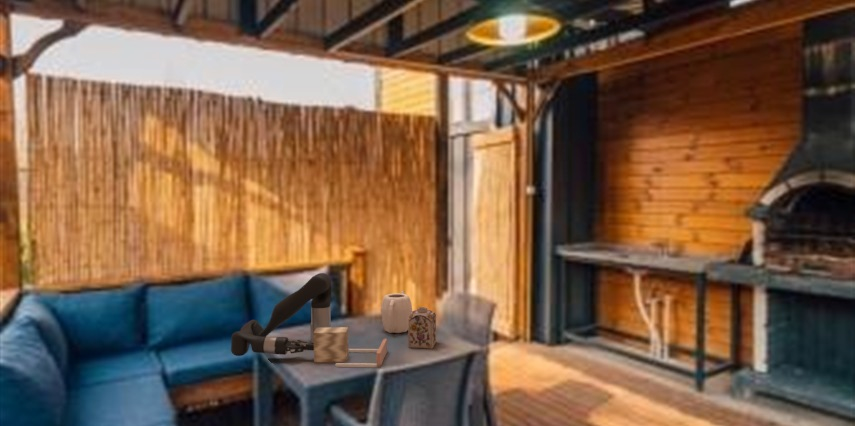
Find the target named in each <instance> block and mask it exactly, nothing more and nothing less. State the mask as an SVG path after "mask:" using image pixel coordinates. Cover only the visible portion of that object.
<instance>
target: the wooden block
mask: <svg viewBox="0 0 855 426" xmlns="http://www.w3.org/2000/svg"><path fill="white" fill-rule="evenodd" d="M313 345H314V350H313V363H347V360H348V358H349V357H350V356H349V353H350V352H349V349H350V348H349V327H348V326H343V327H341V326H339V327H338V326H337V327H334V326H333V327H332V326H331V327H326V328H316V330H315V331H314V343H313Z"/></svg>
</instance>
